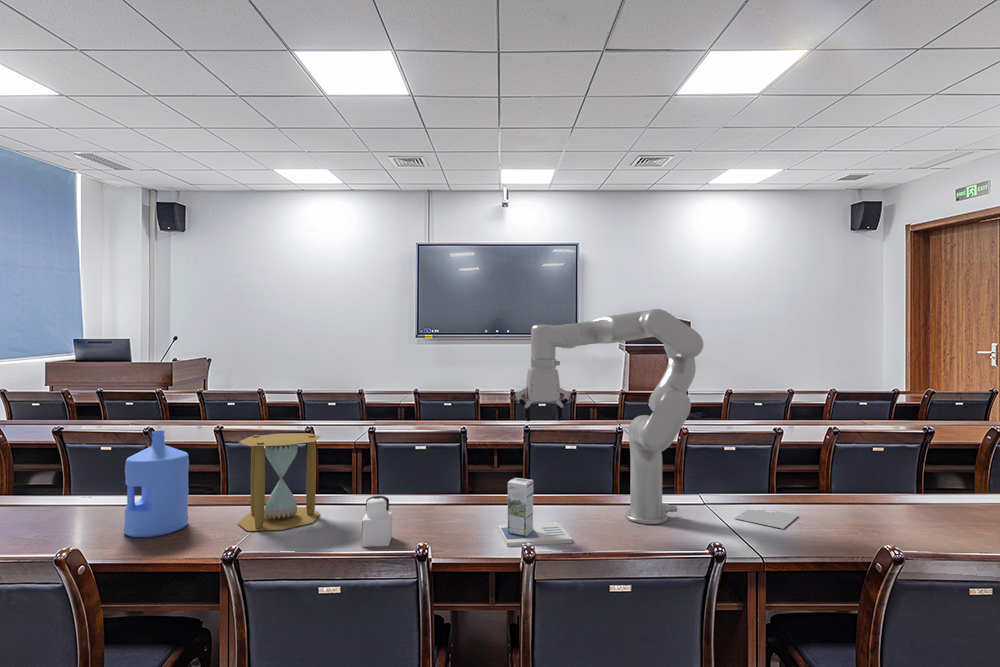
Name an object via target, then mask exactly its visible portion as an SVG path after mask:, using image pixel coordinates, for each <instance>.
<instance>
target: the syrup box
mask: <svg viewBox="0 0 1000 667" xmlns="http://www.w3.org/2000/svg"><path fill="white" fill-rule="evenodd" d="M533 523H534V480H533V479H530V478H529V479H527V478H521V477H520V478H519V477H513V478H512V479H510V480H509V481H507V525H508V533H509V534H515V535H521V536H527V535H529V534H530V533H531V532H532V531H533Z"/></svg>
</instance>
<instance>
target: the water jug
mask: <svg viewBox="0 0 1000 667" xmlns="http://www.w3.org/2000/svg"><path fill="white" fill-rule="evenodd" d="M165 432H166V430H154V431H151V435H152V437H151V445H150V446H149V447H147V448H145V449H142V450H140V451H139V452H137V453H134V454H133V455H131V456H128V457H127V458H126V460H125V466H124V474H125V475H124V476H125V480H124V481H125V485H126V486H127V488H126V489H127V490H126V493H127V496H126V506H125V507H124V524H123V532H124V534H125V535H126V536H128V537H132V538H152V537H159V536H164V535H168V534H171V533H175V532H177V531H180V530H182V529H184V528H185V527H186V526H187V525H188V523H189V515H188V514H189V512H188V509H189V507H188V506H189V494H190V493H189V492H190V491H189V490H190V488H189V467H190V458H189V453H188V452H186V451H184V450H180V449H178V448H175V447H172V446H170V445H166V444H165V439H166V438H165V437H166V436H165ZM136 487H141V498H140V499H139V500H138V501H136V502H135V500H136V495H135V494H136Z"/></svg>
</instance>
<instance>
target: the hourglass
mask: <svg viewBox="0 0 1000 667" xmlns="http://www.w3.org/2000/svg"><path fill="white" fill-rule="evenodd" d="M320 438H322V436H320V435H316V434H313V433H309V432H307V433H305V432H304V433H303V432H302V433H300V432H298V433H296V432H295V433H291V432H290V433H272V434H263V435H259V434H253V435H252V436H248V437H246V438H244V439H242V440H240V441H238V443H241V444H243V445H246V446H248V447H251V450H250V451H251V454H250V456H251V457H250V513H247V514H246V515H245V516H244V517H242V518H241V519H240V520H239V521H238V522H237V525H239V526H240V527H241V528H242V529H244V530H246V531H247V532H252V531H253V532H255V531H257V532H258V531H278V530H280V531H282V530H286V529H290V528H295V527H299V526H304V525H308V524H313V523H314V522H315V521H316V520H317V518H318V517H319V516H320V514H321V513H320V512H318V511H316V509H315V508H316V486H317V484H316V482H317V481H316V480H317V478H316V477H317V472H316V471H317V452H316V451H317V448H316V446H317V445H316V441H318V440H319V439H320ZM298 444H306V472H305V473H306V476H305V478H306V480H305V483H306V484H305V485H306V486H305V488H306V491H305V492H306V493H305V495H306V498H305V499H306V500H305V501H306V502H305V505H306V506H305V507H303V506H302V507H298V505H297V504H298V503H297V499H296V497H295V496H294V494H293V493H292V491H291V490H290V488H289V487H288V485H287V484H286V482H285V480H284V479H283V477H284V476H285V475H286V473H287V471H288V469H289V468H290V466H291V464H292V463H293V461H294V460H295V458H296V457H297V454H298V447H299V445H298ZM266 459H267V460H268V462H269V463H270V465H271V467H272V469H273V470H274V472H276V475H277V476H278V478H279V480H278V481H277V483H276V485H275V487H274V489H273V490H272V492H271V493H270V495H269V497H268V499H267V500H266V501H265V499H266Z"/></svg>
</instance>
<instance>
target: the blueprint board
mask: <svg viewBox="0 0 1000 667" xmlns="http://www.w3.org/2000/svg"><path fill="white" fill-rule="evenodd" d="M497 530H498V532H499V534H500V536H501V538H502V540H503V541H504V544H505V546H506V547H508V548H509V547H522V546H521V545H522V544H527V543H530V544H533V545H532V546H538V545H554V544H570V543H571V544H572V543H573V537H571V536H570V534H569V533H568V532H567V531H566V530H565V529H564V528H563V527H562V525H561V524H560V523H559V522H558V521H553V522H551V521H550V522H533V531H532V532H531V533H530V534H529V535H527V536H521V535H515V534H509V533H508V524H498V525H497Z"/></svg>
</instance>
